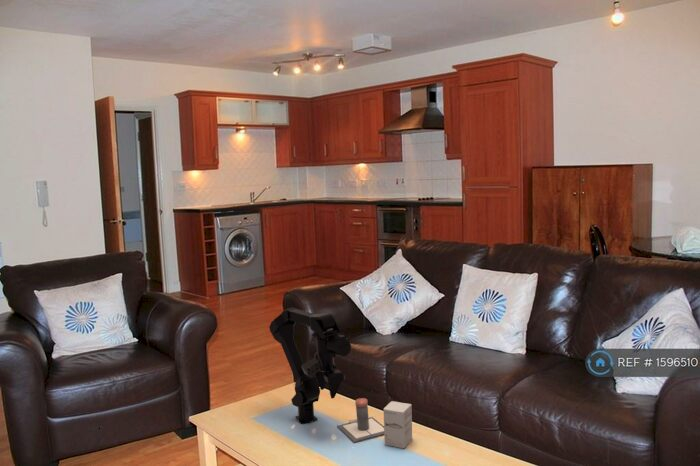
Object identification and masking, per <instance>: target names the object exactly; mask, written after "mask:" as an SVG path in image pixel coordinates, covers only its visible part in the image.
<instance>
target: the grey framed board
mask: <svg viewBox="0 0 700 466" xmlns="http://www.w3.org/2000/svg"><path fill="white" fill-rule="evenodd" d="M368 418H369V429H368V430H365V431H361V430H358V425H357V418H355V419H350V420H348V422H345V423H342V424H339V425H337V426H336V428H337V429H338V430H339V431H341V432H342V434H343V435H345V436H346V438H348V439H349V440H350V441H351V442H352V443H354V444H358V443H360V442H364V441H368V440H371V439H376V438H380V437H383V435H384V424H382V423H381V422H379V421H378V420H377V419H376V418H374V416H370V417H368ZM379 436H380V437H379Z"/></svg>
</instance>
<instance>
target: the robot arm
mask: <svg viewBox="0 0 700 466" xmlns="http://www.w3.org/2000/svg"><path fill="white" fill-rule="evenodd" d="M296 323H297V324H300V325H304V326H308V327H309V329H310V331H312V332H313V333H312V334H311V336H312V337H314V338H315V342H316V343H315V344H316V352H314V357H313V358H311V359H309V360H307V361H306V362H303V359H302V356H301V354H300V351H299V349H298V346H297V344H296V342H295V339H294V336H295V328H294V326H295V325H296ZM339 326H340V325H338V323H337V321H336V320H335V317H334V316H333V314H331V313H326V312H325V313H313V312H310V311H309V312H308V311H305V310H302V309H298V308H296V307H290V308H287V309H286V308H285V309H284V310H283V311H282V312H281V313H280V314H279V315H278V316H277V317H275V318H274V319H273V320H271V322H270V325H269V332H270V333H271V335H272V337H273V339H274V340H275V341H277V342H278V344H280V346H281V347H282V349H283V353H284V355H285V358H286V360H287V362H288V365H289V367H290V369H291V373H292V375H293V377H294V380H295V383H294V391H295V394H294V395H293V397H292V398H291V404H292V405H293V406H295V407H297V413H298V415H296V416H295V419H296V420H297V421H298V422H299V423H300V424H301V425H304V424H307V423H312V422H316V421H318V417H317V416H316V415H315V408H314V403H316V402H319V399H320V396H321V395H320V394H321V391H323V390H325V386H326V384H327V385H328V389H329V390H328V391H329V395H330V399H335V397H336V395H337V393H338V390H339V389H340V386H341V384H342V382H344V381H345V380H346V374H345V373H344V372H342V371H341V370H340V369H337V364H336V363H335V359H334V358H335V357H337V356H340V357H344V358H345V357H346V356H348V355H349V354H350V352H351V351H352V350H351V349H352V345H351V343H350V341H349V339H347V336H346V335H344V334H342V331H341V329H340V327H339ZM341 334H342V335H341ZM336 355H337V356H336ZM313 375H315V376H313ZM312 376H313V377H312Z"/></svg>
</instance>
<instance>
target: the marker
mask: <svg viewBox="0 0 700 466" xmlns="http://www.w3.org/2000/svg"><path fill="white" fill-rule="evenodd" d="M354 401H355V408H356V409H355V411H356V419H357V425H358V430H361V431H365V430H368V429H369V418H370V417H369V407H368V406H369V405H368V404H369V403H368V399H367V398H365V397H361V398H357V399H355V400H354Z"/></svg>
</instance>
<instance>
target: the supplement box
mask: <svg viewBox="0 0 700 466" xmlns="http://www.w3.org/2000/svg"><path fill="white" fill-rule="evenodd" d="M412 405H413V404H411V403H405V402H399V401H393V400H391V401H390V402H389V403H388V404H387V405H386V406H385V407H384V408H383V426H384V438H383V439H384V446H390V447H395V448H400V449H403V448H405V447H406V448H407V447H408V445H409V444H410V443H411V442H412V441H411V440H413V416H412V415H413V414H412V413H413V412H412ZM410 441H411V442H410ZM409 442H410V443H409ZM408 443H409V444H408ZM406 448H405V449H406Z"/></svg>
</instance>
